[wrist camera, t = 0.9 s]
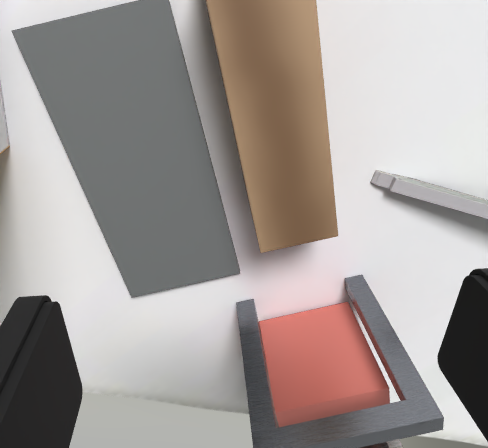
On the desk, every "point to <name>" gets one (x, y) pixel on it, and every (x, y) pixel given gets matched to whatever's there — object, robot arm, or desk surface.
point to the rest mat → (134, 140)
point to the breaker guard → (352, 423)
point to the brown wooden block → (278, 115)
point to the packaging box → (3, 126)
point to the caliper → (432, 193)
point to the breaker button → (320, 365)
